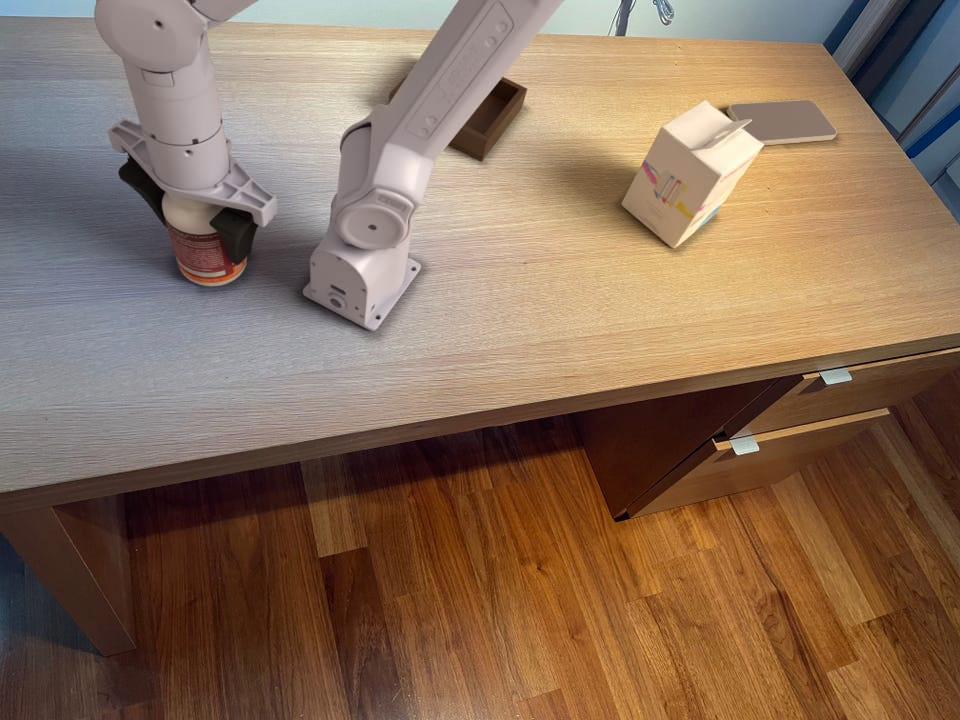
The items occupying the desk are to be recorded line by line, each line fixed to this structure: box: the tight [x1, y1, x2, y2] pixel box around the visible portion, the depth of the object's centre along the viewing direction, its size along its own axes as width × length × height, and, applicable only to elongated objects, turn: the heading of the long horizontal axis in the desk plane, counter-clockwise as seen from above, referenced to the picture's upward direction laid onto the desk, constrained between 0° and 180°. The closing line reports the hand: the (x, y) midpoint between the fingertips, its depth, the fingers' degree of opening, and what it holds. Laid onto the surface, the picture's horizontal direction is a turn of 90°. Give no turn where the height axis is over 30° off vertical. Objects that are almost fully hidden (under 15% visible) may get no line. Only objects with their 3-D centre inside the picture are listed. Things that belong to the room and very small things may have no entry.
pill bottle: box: [162, 192, 248, 287], centre depth 60 cm, size 6×6×11 cm
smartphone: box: [726, 99, 838, 146], centre depth 93 cm, size 7×1×15 cm
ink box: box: [620, 99, 765, 249], centre depth 75 cm, size 9×8×13 cm
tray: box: [388, 73, 528, 162], centre depth 81 cm, size 12×13×3 cm
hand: (208, 239), depth 62 cm, fingers open, 6 cm apart
